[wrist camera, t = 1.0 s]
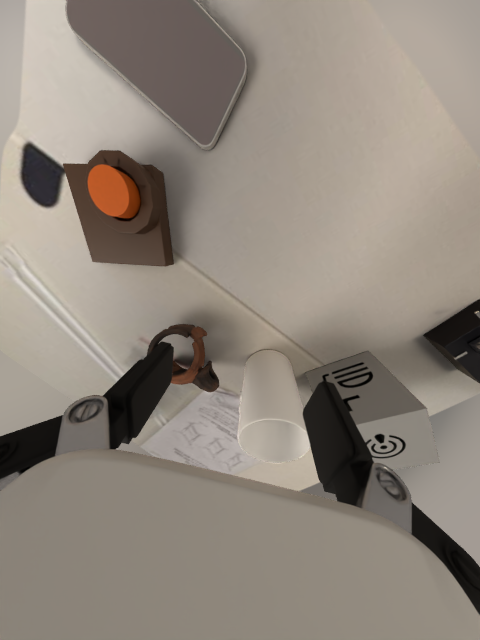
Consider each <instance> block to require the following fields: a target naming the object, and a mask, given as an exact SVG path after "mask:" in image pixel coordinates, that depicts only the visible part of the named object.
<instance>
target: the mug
mask: <svg viewBox="0 0 480 640" xmlns="http://www.w3.org/2000/svg"><path fill="white" fill-rule="evenodd" d="M240 402H241V404H239V412H240V416H239V426H238V442H239V445H240V447H241V448H242V450H243V451H244V452H245V453H247V454H248V455H249V456H251V457H253V458H255V459H258V460H260V461H264V462H270V463H285V462H290V461H294V460H297V459H299V458H301V457H302V456H304V455H305V454H306V453H307V452H308V450H309V449H310V442H309V438H308V434H307V430H306V427H305V423H304V419H303V406H302V402H301V399H300V395H299V391H298V387H297V384H296V380H295V376H294V373H293V369H292V365H291V363H290V361H289V359H288V358H287V357H286V356H285V355H283V354H282V353H280V352H277V351H274V350H262V351H258V352H256V353H254V354H253V355H251V356H250V357H249V359H248V360H247V362H246V364H245V370H244V379H243V389H242V391H241V392H240Z"/></svg>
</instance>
